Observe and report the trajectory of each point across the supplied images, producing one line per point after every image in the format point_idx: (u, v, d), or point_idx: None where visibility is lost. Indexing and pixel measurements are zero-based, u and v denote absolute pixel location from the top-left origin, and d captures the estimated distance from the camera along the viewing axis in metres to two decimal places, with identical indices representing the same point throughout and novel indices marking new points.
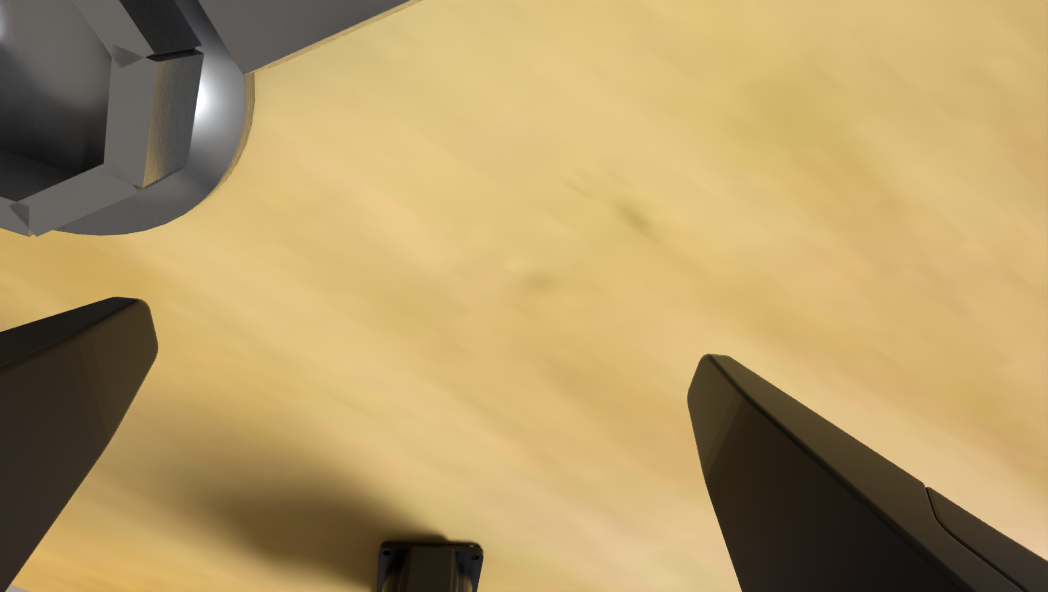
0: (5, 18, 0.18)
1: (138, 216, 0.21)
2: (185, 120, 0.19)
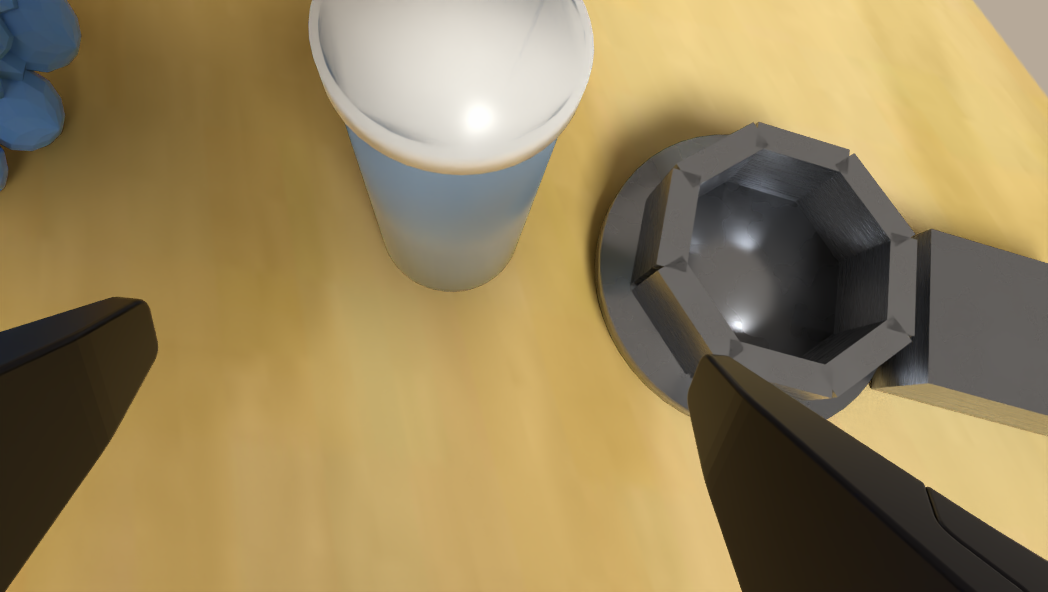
0: (752, 255, 0.24)
1: None
2: None
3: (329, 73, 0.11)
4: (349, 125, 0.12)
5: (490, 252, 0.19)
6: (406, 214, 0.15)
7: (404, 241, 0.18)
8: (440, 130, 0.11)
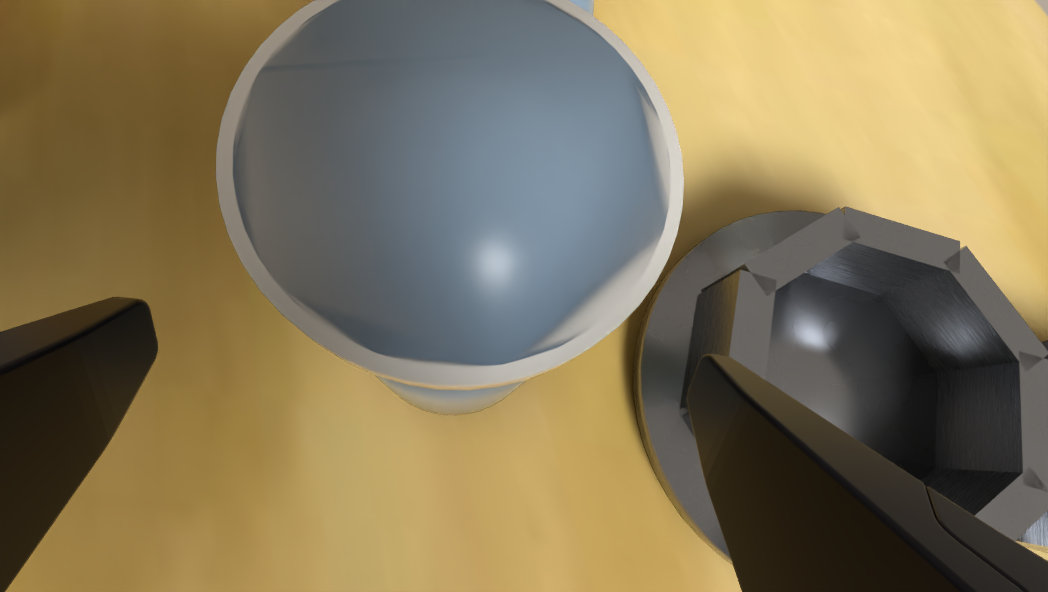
0: (830, 366, 0.19)
1: None
2: None
3: (246, 237, 0.07)
4: None
5: (505, 394, 0.14)
6: (388, 380, 0.11)
7: (389, 386, 0.13)
8: (433, 335, 0.07)
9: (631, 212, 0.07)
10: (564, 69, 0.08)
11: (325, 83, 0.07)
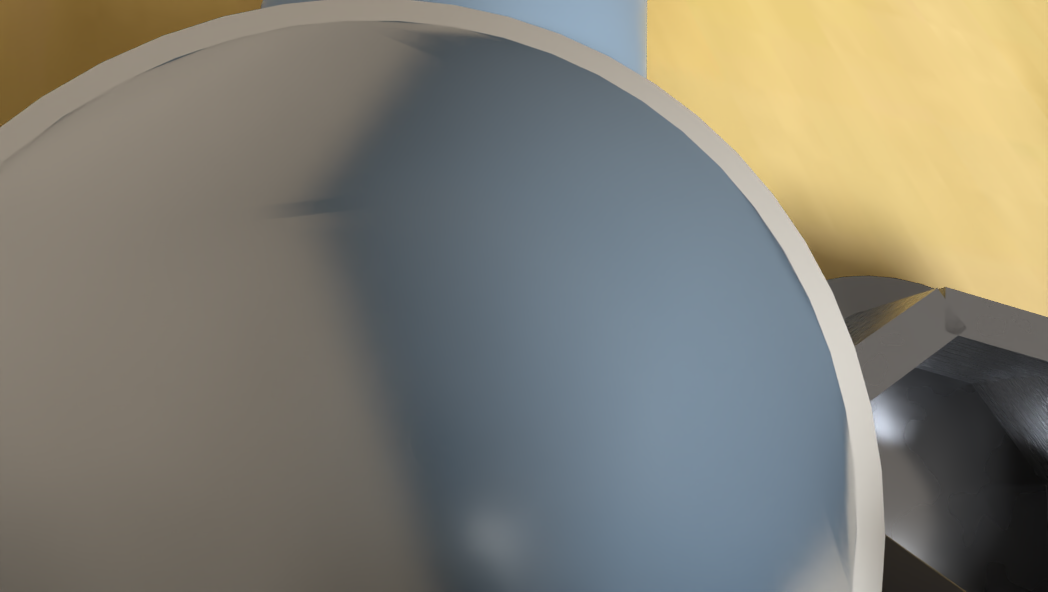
0: (914, 480, 0.15)
1: None
2: None
3: None
4: None
5: None
6: None
7: None
8: None
9: (778, 560, 0.03)
10: (619, 216, 0.04)
11: (78, 280, 0.03)
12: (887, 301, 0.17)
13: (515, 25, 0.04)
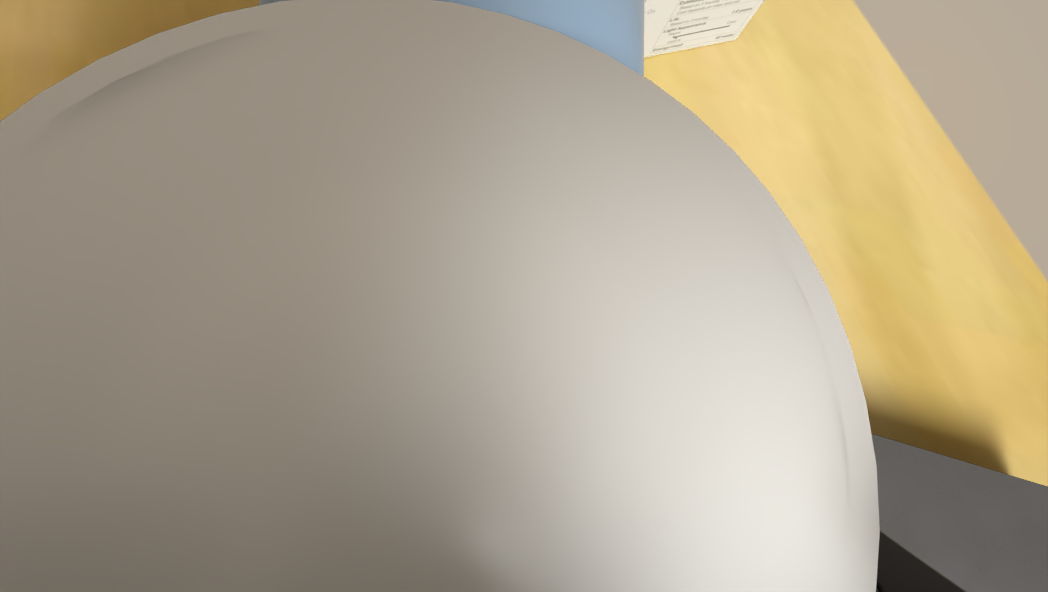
0: None
1: None
2: None
3: None
4: None
5: None
6: None
7: None
8: None
9: (773, 555, 0.03)
10: (615, 212, 0.04)
11: (76, 276, 0.03)
12: None
13: (511, 22, 0.04)
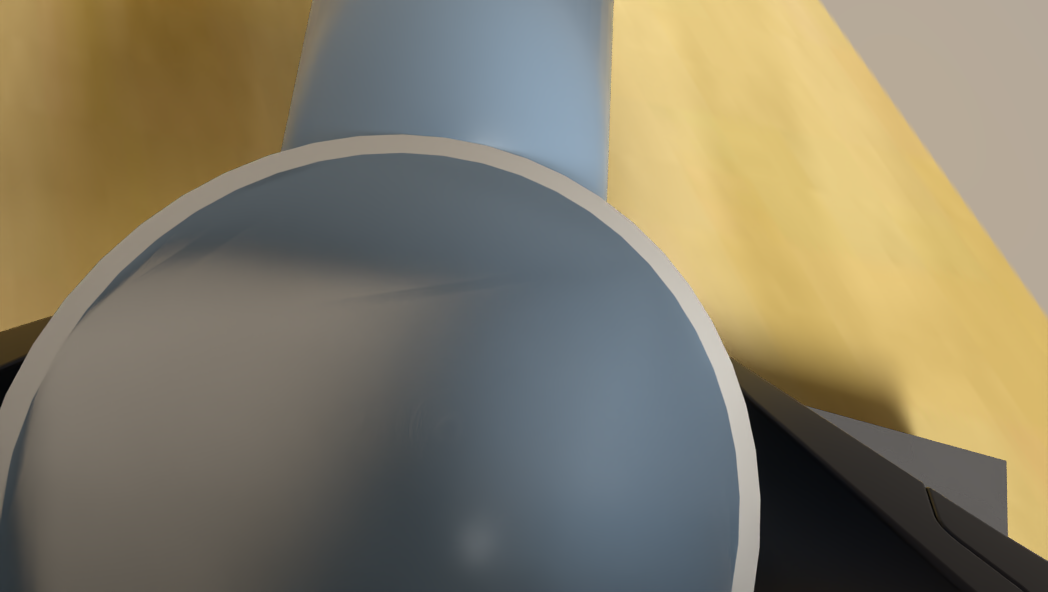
0: None
1: None
2: None
3: None
4: None
5: None
6: None
7: None
8: None
9: (678, 565, 0.05)
10: (569, 305, 0.05)
11: (172, 365, 0.04)
12: None
13: (492, 150, 0.05)
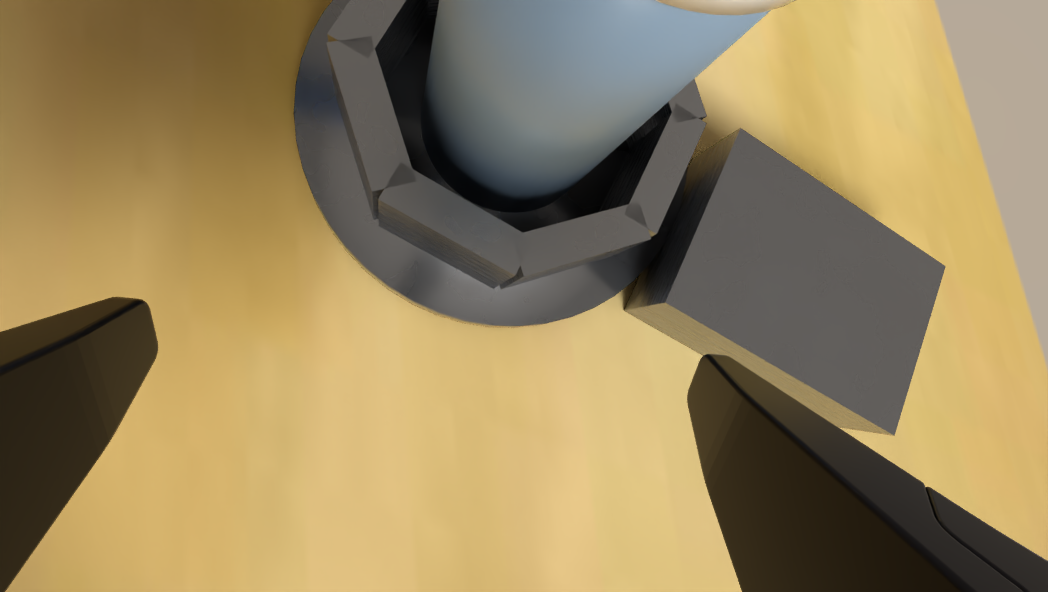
0: None
1: (401, 271, 0.17)
2: (557, 271, 0.18)
3: None
4: None
5: (573, 167, 0.14)
6: (503, 70, 0.10)
7: (470, 119, 0.13)
8: None
9: None
10: None
11: None
12: None
13: None
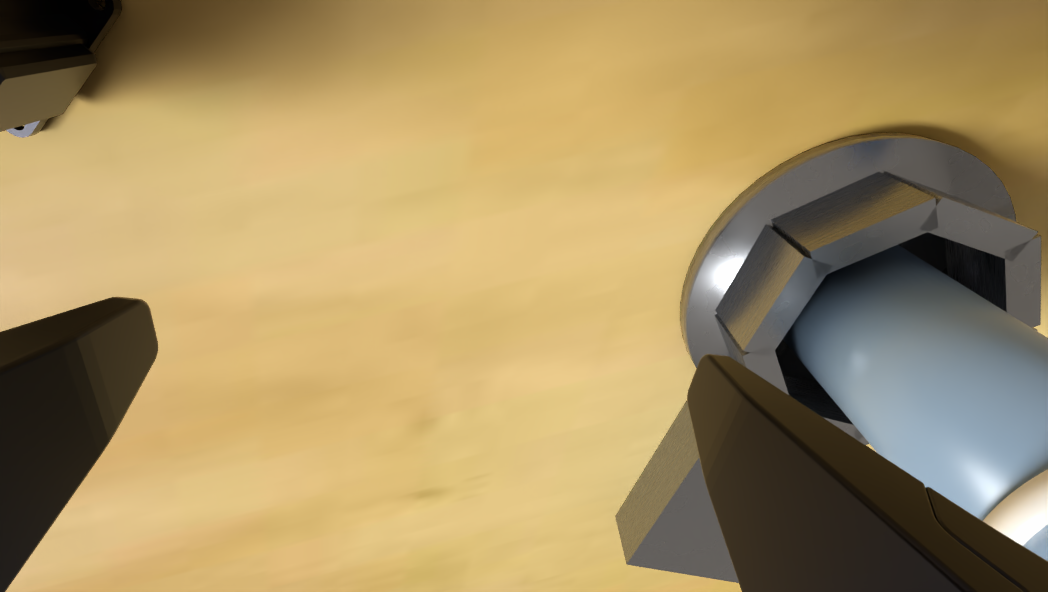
0: None
1: (729, 246, 0.21)
2: (731, 354, 0.23)
3: None
4: None
5: (829, 387, 0.20)
6: (921, 386, 0.16)
7: (873, 329, 0.18)
8: (1039, 544, 0.12)
9: None
10: None
11: None
12: None
13: None
